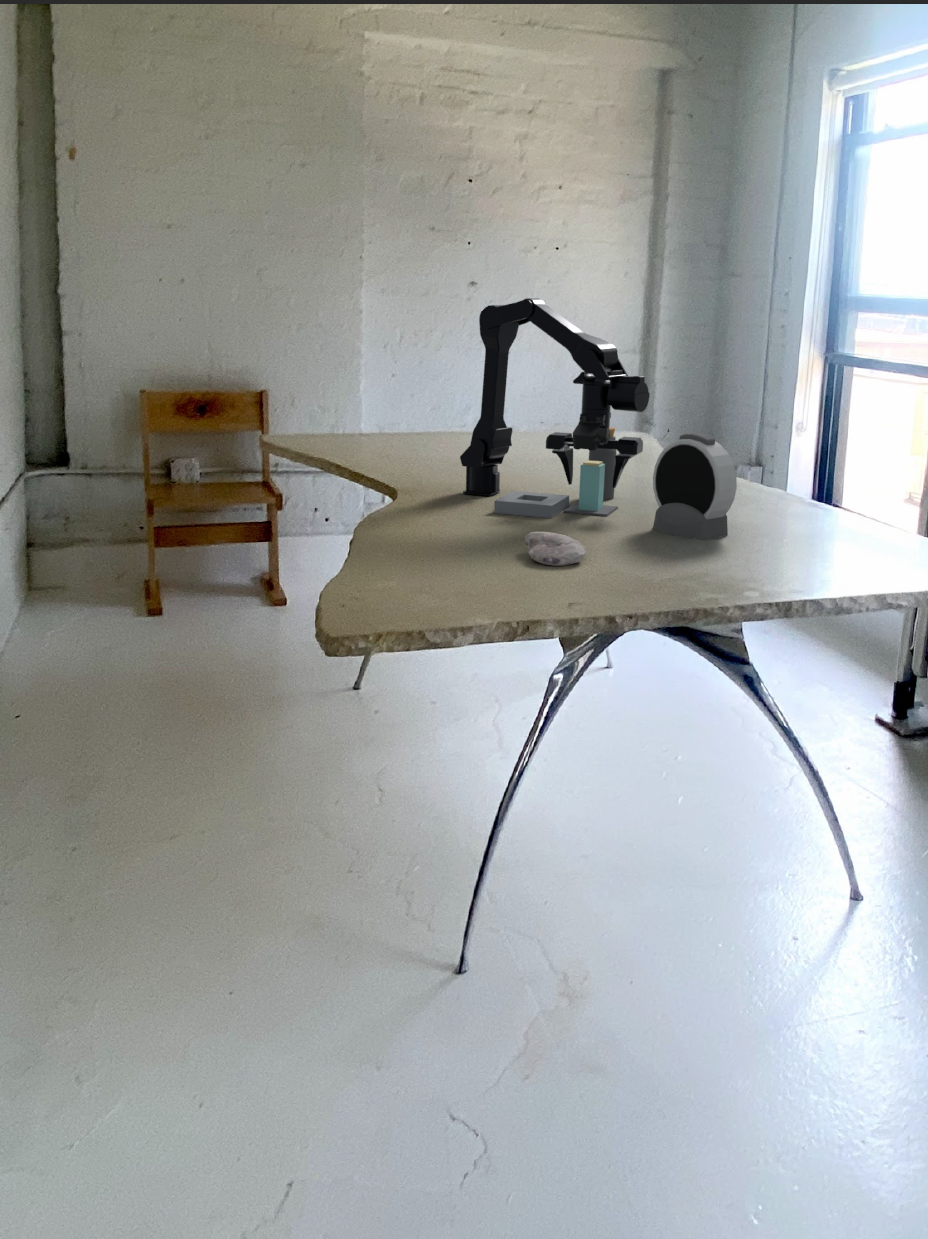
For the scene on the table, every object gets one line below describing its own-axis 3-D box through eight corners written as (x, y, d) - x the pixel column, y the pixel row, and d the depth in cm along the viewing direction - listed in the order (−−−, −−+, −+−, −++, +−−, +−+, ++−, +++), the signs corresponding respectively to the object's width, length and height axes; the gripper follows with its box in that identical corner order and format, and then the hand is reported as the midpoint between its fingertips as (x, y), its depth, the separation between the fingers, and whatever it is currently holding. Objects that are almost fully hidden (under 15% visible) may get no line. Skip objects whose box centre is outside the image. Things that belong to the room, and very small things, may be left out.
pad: (563, 512, 215) (563, 510, 215) (575, 504, 223) (575, 502, 223) (606, 516, 212) (606, 514, 212) (617, 508, 220) (618, 506, 219)
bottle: (612, 500, 228) (617, 430, 223) (585, 499, 229) (589, 428, 225) (614, 495, 233) (618, 426, 229) (588, 494, 235) (591, 425, 230)
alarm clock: (639, 527, 203) (645, 430, 197) (675, 521, 209) (682, 427, 203) (705, 543, 190) (713, 440, 185) (741, 536, 196) (751, 436, 191)
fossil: (596, 542, 173) (538, 549, 170) (595, 567, 174) (537, 573, 172) (568, 522, 183) (513, 528, 181) (567, 546, 185) (513, 552, 182)
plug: (578, 509, 216) (580, 462, 213) (583, 505, 220) (585, 460, 217) (597, 511, 215) (600, 464, 212) (602, 507, 218) (605, 461, 215)
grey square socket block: (494, 512, 213) (494, 500, 213) (513, 502, 224) (514, 490, 223) (551, 518, 209) (551, 505, 208) (568, 507, 220) (569, 495, 219)
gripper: (538, 409, 207) (535, 488, 212) (632, 414, 201) (627, 496, 205) (555, 404, 217) (552, 480, 222) (645, 409, 211) (640, 487, 215)
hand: (592, 486), depth 216 cm, fingers open, 9 cm apart
